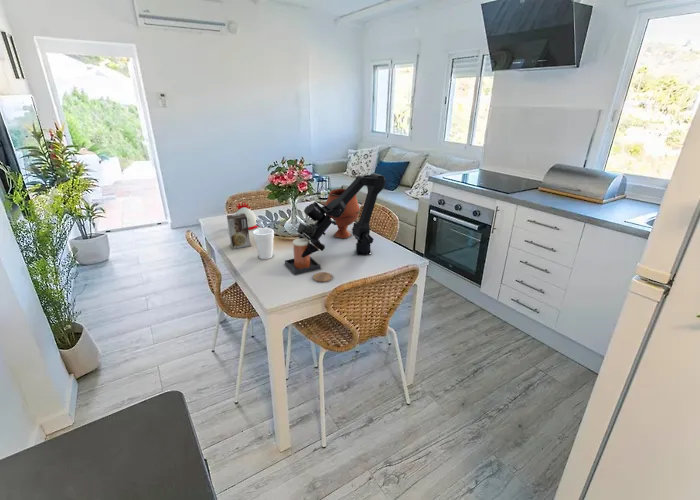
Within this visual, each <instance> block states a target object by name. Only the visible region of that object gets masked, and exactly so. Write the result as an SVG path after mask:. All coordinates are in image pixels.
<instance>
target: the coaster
mask: <svg viewBox="0 0 700 500" xmlns="http://www.w3.org/2000/svg"><path fill="white" fill-rule="evenodd" d="M312 276H313V277H312V278H313V280H314V281H315V282H317V283H327V282H330V281H332V279H333V276H332V274H331V273H330V272H326V271H325V272H324V271H319V272H316V273H314V275H312Z"/></svg>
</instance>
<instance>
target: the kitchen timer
mask: <svg viewBox="0 0 700 500" xmlns="http://www.w3.org/2000/svg"><path fill="white" fill-rule="evenodd" d="M235 206H236V208H237V209H238V210H237V211H236V212H235V214H243V213H245V215H246V216H247V223H248V231H252V230H256V229H258V227H259V225H258V226H256V220H257V221H258V218H257V216H256V214H255V212H254V211H253V210H252V209H251V206H252V205H251V204H250V206H249V203H246V202H244V203H243V202H241V203H240V202H238V204H236V205H235Z"/></svg>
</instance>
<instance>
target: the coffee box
mask: <svg viewBox="0 0 700 500" xmlns="http://www.w3.org/2000/svg"><path fill="white" fill-rule="evenodd" d="M226 219H227V229H228V234H229V240H230V246H231V248H232V250H235V249H240V248H247V247H251V239H250V230H248V223H247V216H246V215H245V213H243V214H236V213H235V214H229V215H228V214H227V215H226Z"/></svg>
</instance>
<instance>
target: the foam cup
mask: <svg viewBox="0 0 700 500" xmlns="http://www.w3.org/2000/svg"><path fill="white" fill-rule="evenodd" d="M252 234H253V238H254V242H255V246H256V250H257V254H258V258H259V259H260V260H269V259H271V258H273V253H274V238H275V237H274V236H275V231H274V229H272V228H271V227H260V228H255V229H253V231H252Z"/></svg>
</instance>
